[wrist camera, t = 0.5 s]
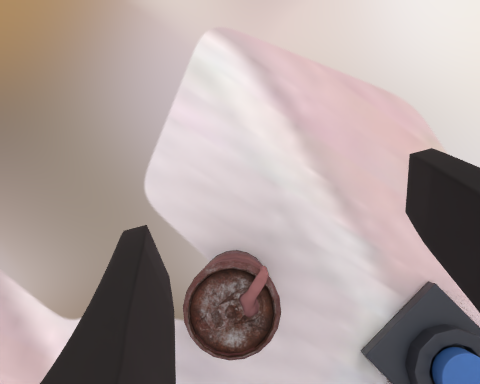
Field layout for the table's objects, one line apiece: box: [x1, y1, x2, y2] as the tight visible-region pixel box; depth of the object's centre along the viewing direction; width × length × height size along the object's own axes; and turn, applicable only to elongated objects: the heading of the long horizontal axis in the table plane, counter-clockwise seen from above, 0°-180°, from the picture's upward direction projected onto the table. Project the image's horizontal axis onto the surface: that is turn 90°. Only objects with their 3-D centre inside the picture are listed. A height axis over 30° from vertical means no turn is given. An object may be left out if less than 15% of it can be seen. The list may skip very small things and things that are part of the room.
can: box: [183, 250, 281, 360], centre depth 32 cm, size 6×6×14 cm
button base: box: [361, 282, 480, 384], centre depth 37 cm, size 11×9×4 cm
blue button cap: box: [432, 347, 480, 384], centre depth 35 cm, size 4×4×2 cm
